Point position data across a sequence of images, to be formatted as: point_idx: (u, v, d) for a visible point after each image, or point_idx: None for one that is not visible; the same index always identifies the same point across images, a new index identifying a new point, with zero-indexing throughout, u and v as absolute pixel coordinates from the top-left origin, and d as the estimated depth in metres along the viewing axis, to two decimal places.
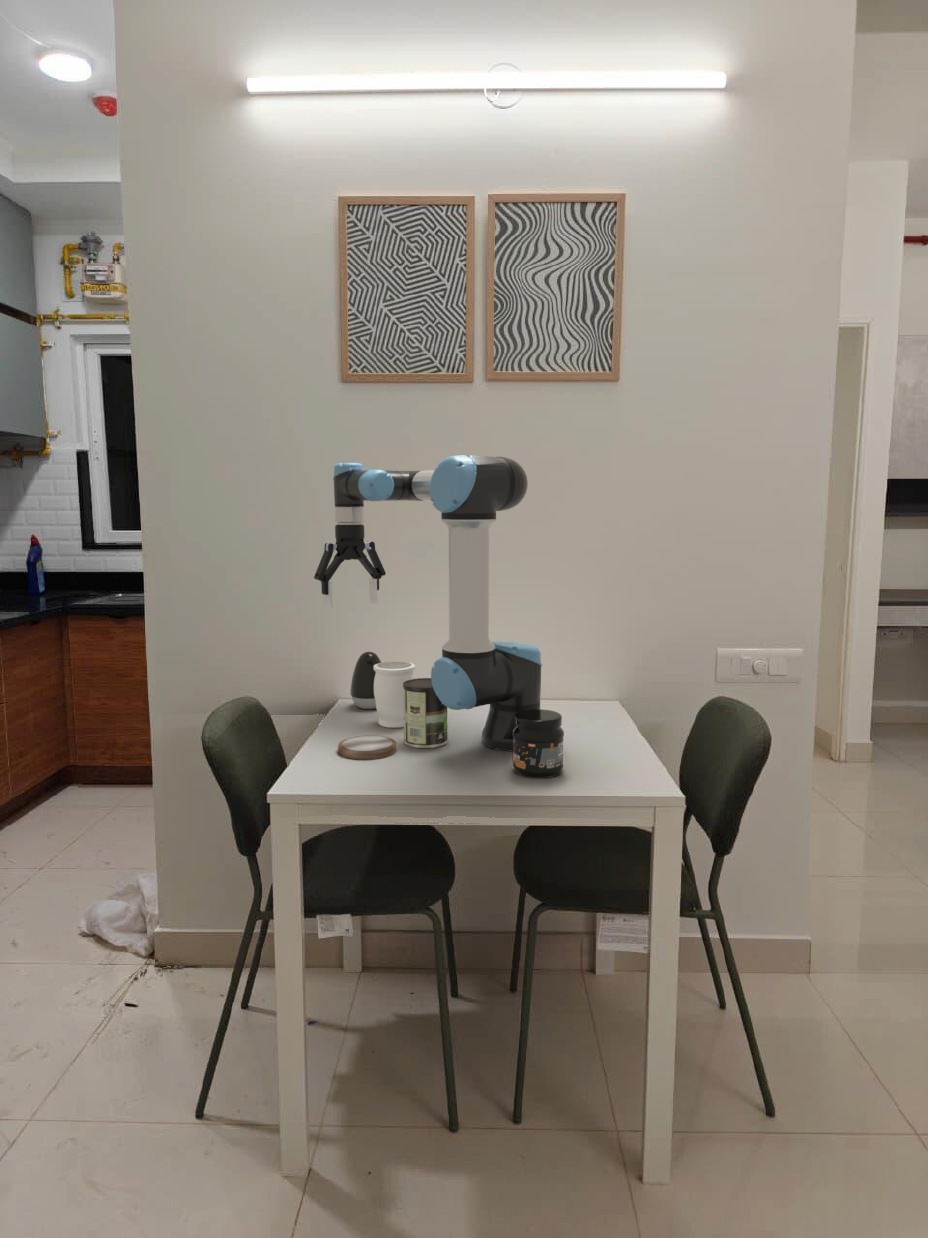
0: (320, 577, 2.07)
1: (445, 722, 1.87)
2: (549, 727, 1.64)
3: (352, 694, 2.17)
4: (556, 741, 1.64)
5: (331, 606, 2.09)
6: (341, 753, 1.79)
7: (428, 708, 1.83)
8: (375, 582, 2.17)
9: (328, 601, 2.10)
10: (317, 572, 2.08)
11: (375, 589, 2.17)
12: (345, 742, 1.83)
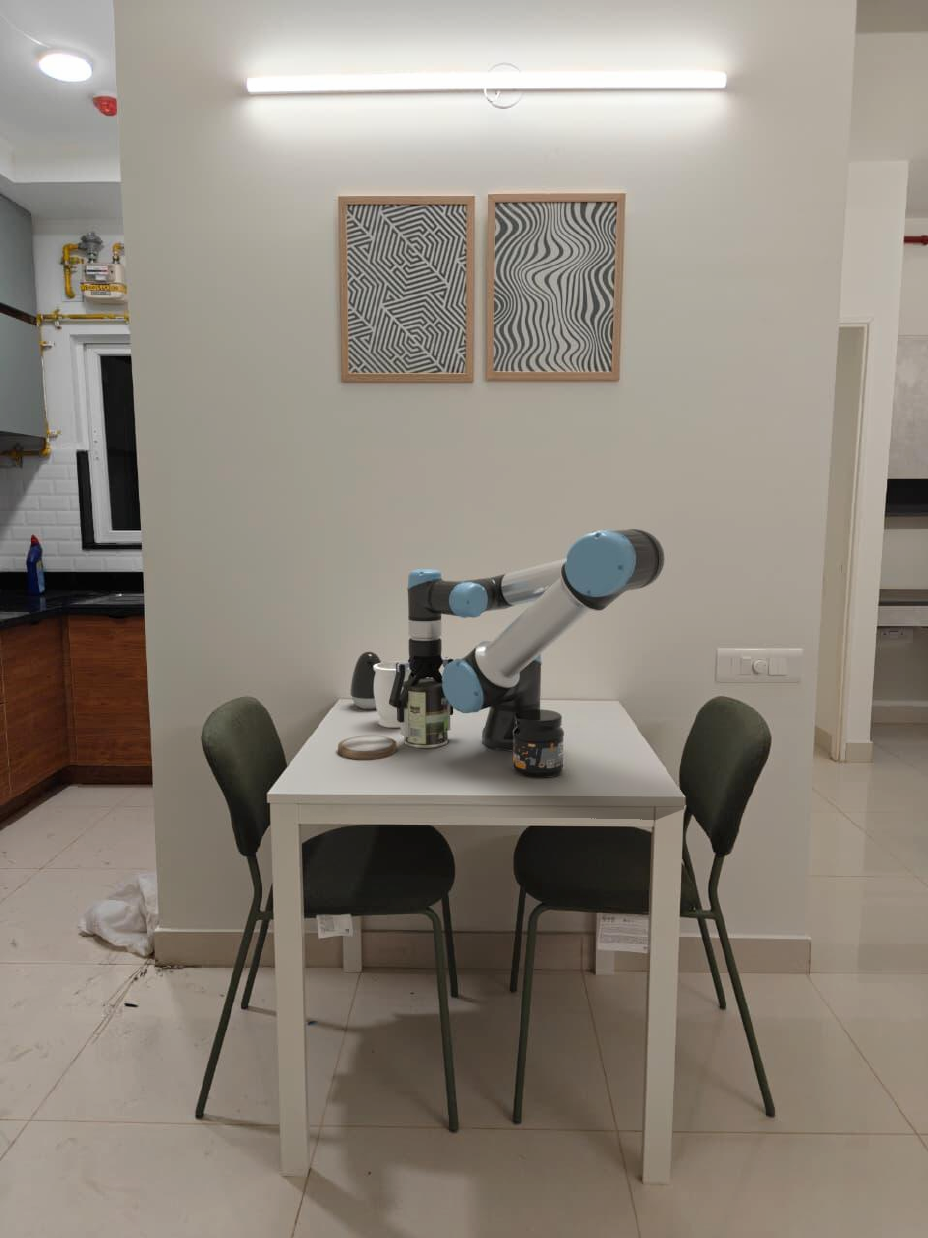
0: (395, 704, 1.83)
1: (445, 722, 1.87)
2: (549, 727, 1.64)
3: (352, 694, 2.17)
4: (556, 741, 1.64)
5: (407, 735, 1.85)
6: (341, 753, 1.79)
7: (428, 708, 1.83)
8: (448, 707, 1.90)
9: (404, 729, 1.86)
10: (391, 698, 1.84)
11: (448, 715, 1.90)
12: (345, 742, 1.83)
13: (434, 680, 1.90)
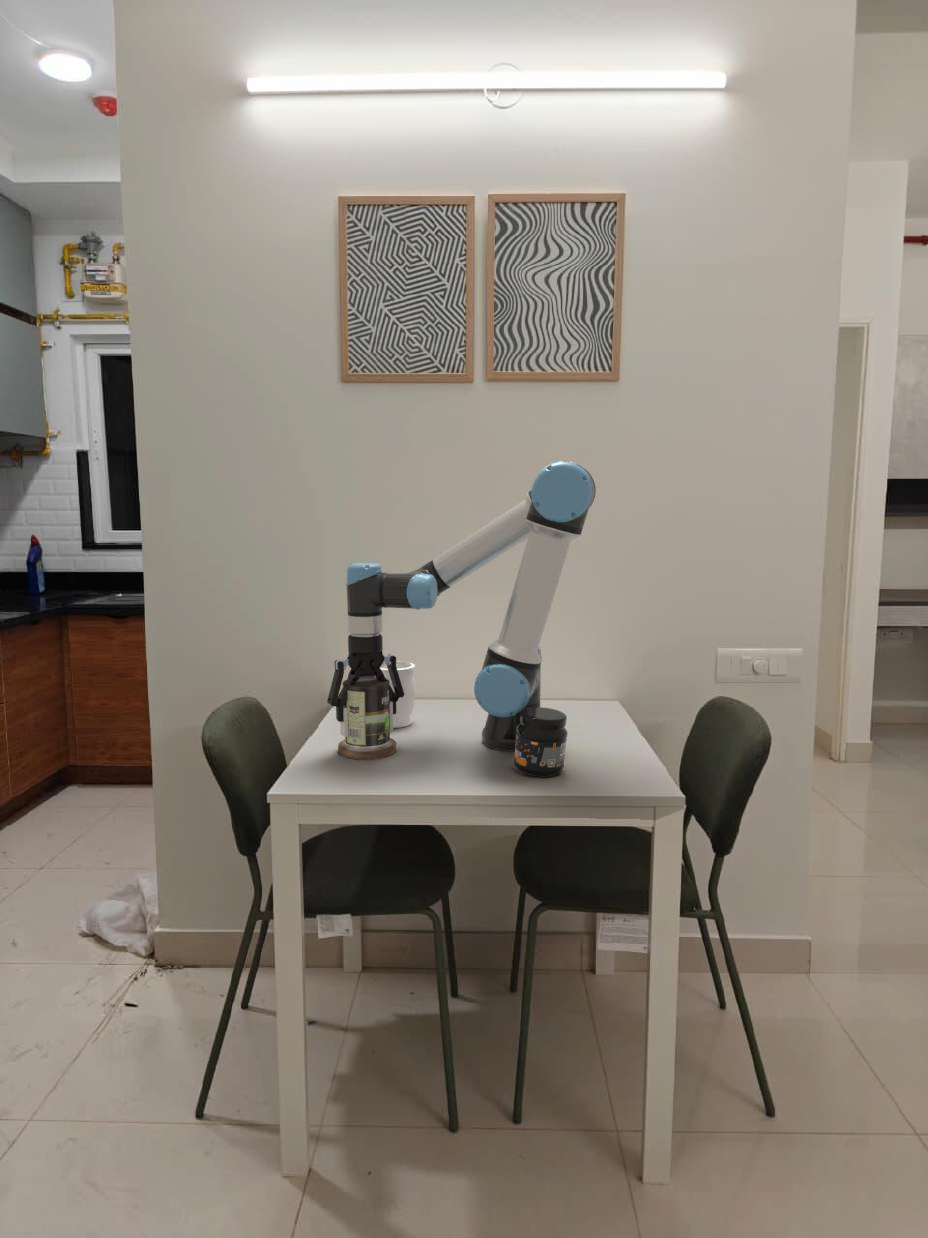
0: (333, 703, 1.76)
1: (386, 722, 1.80)
2: (553, 727, 1.63)
3: None
4: (559, 741, 1.64)
5: (346, 735, 1.79)
6: (341, 753, 1.79)
7: (368, 708, 1.77)
8: (391, 706, 1.83)
9: (343, 729, 1.79)
10: (330, 696, 1.77)
11: (391, 714, 1.83)
12: None
13: (376, 679, 1.84)
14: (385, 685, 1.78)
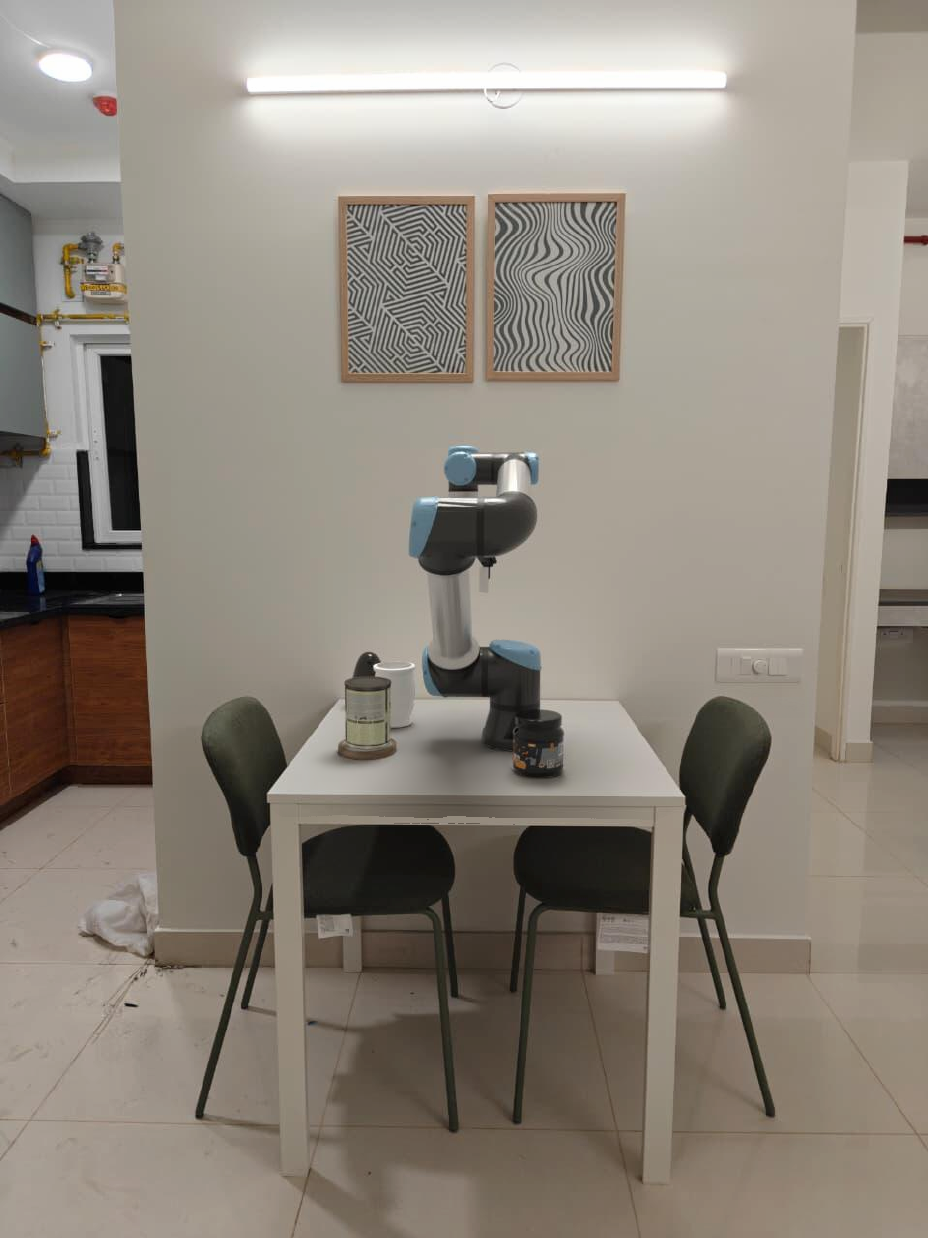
0: None
1: None
2: (549, 727, 1.64)
3: None
4: (556, 741, 1.64)
5: None
6: (341, 753, 1.79)
7: None
8: (487, 570, 2.09)
9: None
10: None
11: (487, 578, 2.10)
12: None
13: (352, 681, 1.81)
14: None
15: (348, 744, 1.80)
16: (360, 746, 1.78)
